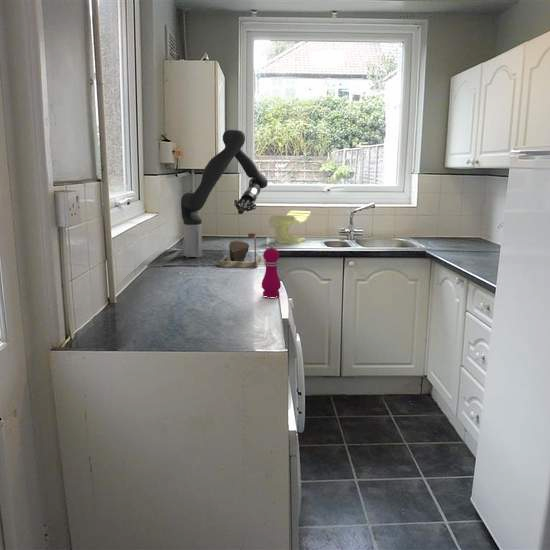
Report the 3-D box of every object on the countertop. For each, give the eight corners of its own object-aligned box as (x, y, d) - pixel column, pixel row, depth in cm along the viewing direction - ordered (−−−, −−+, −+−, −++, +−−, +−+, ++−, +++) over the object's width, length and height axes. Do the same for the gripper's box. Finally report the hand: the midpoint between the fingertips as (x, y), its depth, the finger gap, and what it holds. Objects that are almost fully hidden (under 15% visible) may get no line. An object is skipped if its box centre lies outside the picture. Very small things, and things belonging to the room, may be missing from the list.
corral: (219, 266, 247) (218, 232, 243) (226, 260, 263) (225, 227, 259) (256, 267, 245) (256, 233, 242) (261, 260, 261) (261, 228, 258)
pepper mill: (269, 292, 200) (270, 242, 196) (284, 296, 196) (285, 244, 191) (257, 296, 195) (257, 244, 190) (272, 299, 190) (272, 246, 186)
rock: (238, 256, 248) (223, 243, 250) (231, 270, 254) (217, 258, 257) (253, 246, 257) (238, 234, 259) (246, 260, 264) (232, 248, 266)
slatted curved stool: (287, 237, 338) (287, 210, 334) (310, 239, 332) (311, 211, 328) (269, 244, 311) (269, 214, 307) (293, 246, 305) (293, 216, 301)
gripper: (238, 188, 283) (228, 204, 270) (261, 193, 281) (252, 209, 268) (238, 200, 288) (228, 216, 275) (260, 204, 286) (251, 221, 273)
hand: (240, 212), depth 271 cm, fingers closed
